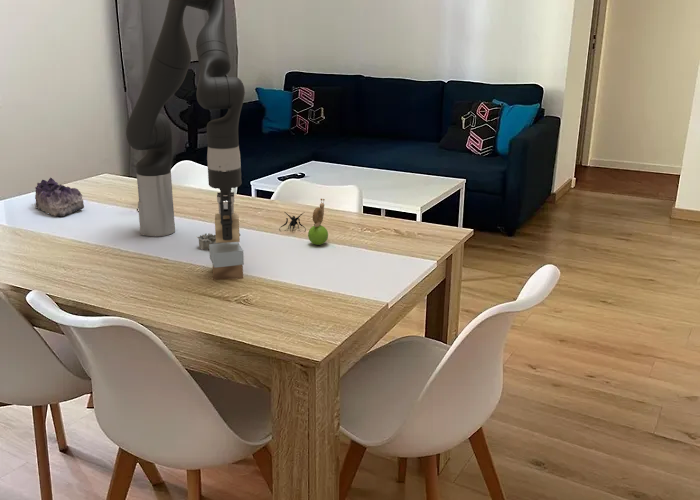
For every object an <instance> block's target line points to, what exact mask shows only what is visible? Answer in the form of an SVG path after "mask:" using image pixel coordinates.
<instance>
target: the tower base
mask: <svg viewBox="0 0 700 500" xmlns="http://www.w3.org/2000/svg"><path fill="white" fill-rule="evenodd" d="M243 266H244V265H236V266H226V267H216V268H214V266H213V265H212V277H213V278H212V280H213V281H216V280H235V279H243V278H244V269H243V268H244V267H243Z"/></svg>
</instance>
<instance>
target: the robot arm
mask: <svg viewBox="0 0 700 500" xmlns="http://www.w3.org/2000/svg"><path fill="white" fill-rule="evenodd" d="M186 7H191V8H195V9H198V10H202V11H206V12H207V14H208V15H207V16H208V18H207V20H206V23H205V24H204V26H203V27H202V28H201V29H200V31H199V33H198V35H197V36H196V42H195V45H196V46H195V47H196V54H197V60H198V66H199V73H198V74H199V76H198V82H197V87H196V93H195V94H196V100H197V103H198V105H200V107H201V108H203V109H205V110H227V112H226V113H225V114H224V116H222V117H219V118H215V119H212V120H210V121H208V122H207V124H206V137H207V138H206V140H207V154H206V160H207V161H206V162H207V179H208V181H207V182H208V186H209V187H210V188H213V189H218V190H219V191H220V192H217V193H216V201H217V204H218V214H220V215H221V225H222V234H223V240H232V223H233V221H232V215H233V214H234V213H235V211H234V210H235V205H234V204H235V191H232V190H233V189H235V188H239V187H241V185H242V166H241V164H242V163H241V151H240V144H239V123H240V116H241V112H242V107H243V104H244V101H245V94H246V93H245V91H246V89H245V86H244V83H243V81H242V80H241V78H239V77H237V76H227V75H228V74H229V73H230V72H231V69H232V68H231V66H232V65H231V60H230V53H229V49H228V43H227V38H226V10H225V0H168V4H167V7H166V11H165V12H166V13H165V17H164V19H163V23H162V27H161V30H160V33H159V36H158V39H157V41H156V44H155V47H154V49H153V54H152V57H151V59H150V62H149V66H148V70H147V74H146V76H145V79H144V83H143V85H142V88H141V90H140V93H139V97H138V99H137V101H136V103H135V105H134V107H133V110H132V111H131V114H130V116H129V119H128V121H127V124H126V129H125V130H126V132H125V135H126V140H127V143H128V145H130V147H131V148H132V149H134V150H136V151H145V150H146V153H145V154H144V156H143V157H142V158H141V159H140V160H138V161H137V162H136V164H135V171H136V182H137V194H138V201H137V209H138V211H139V212H138V211H137V212H138V219H139V220H138V221H139V232H140V236H147V237H163V236H169V235H172V234H174V233H175V232H176V227H175V226H176V223H175V210H174V209H175V208H174V196H173V183H172V181H173V180H172V169H171V168H172V165H173V164H172V163H173V159H174V153H173V152H174V151H173V150H174V148H173V147H174V146H173V130H172V126H171V125H172V124H171V123H170V120H169V119H168V117H167V116H166V115H164V114H163V113H160V112H161V110H162V108H163V107H164V106H165V104H167V102H169V100H170V99H171V98H172V97H173V96H174V95H175V94H176V93H177V91H178V90H179V89H180V87H181V86H182V84H183V82H184V80H185V79H186V76H187V73H188V70H189V68H190V64H191V61H192V53H191V49H190V48H191V47H190V44H189V41H188V37H187V35H186V31H185V28H184V27H185V26H184V14H185V10H186ZM223 216H230V219H223Z"/></svg>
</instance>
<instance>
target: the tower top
mask: <svg viewBox="0 0 700 500" xmlns="http://www.w3.org/2000/svg"><path fill="white" fill-rule="evenodd" d="M208 250H209V259H210V262H211V264H212V267H213V266H214V268H216V267H226V266H236V265H243V266H244V265H245V259H244V257H245V256H244V249H243V248H242V245H240V242H239V243H238V242H230V243H219V244H209V249H208Z"/></svg>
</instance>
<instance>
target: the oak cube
mask: <svg viewBox="0 0 700 500" xmlns="http://www.w3.org/2000/svg"><path fill="white" fill-rule="evenodd" d="M223 219H230V216H223ZM232 221H233V223H232V240H223V234H222V225H221V215H220V214H219V213H215V214H214V229H215V231H214V233H215V234H214V235H216V243H222V242H239V243H240V239H241V238H240V236H241V234H240V235H239V233H240V215H239V212H234V214H233V215H232Z"/></svg>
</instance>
